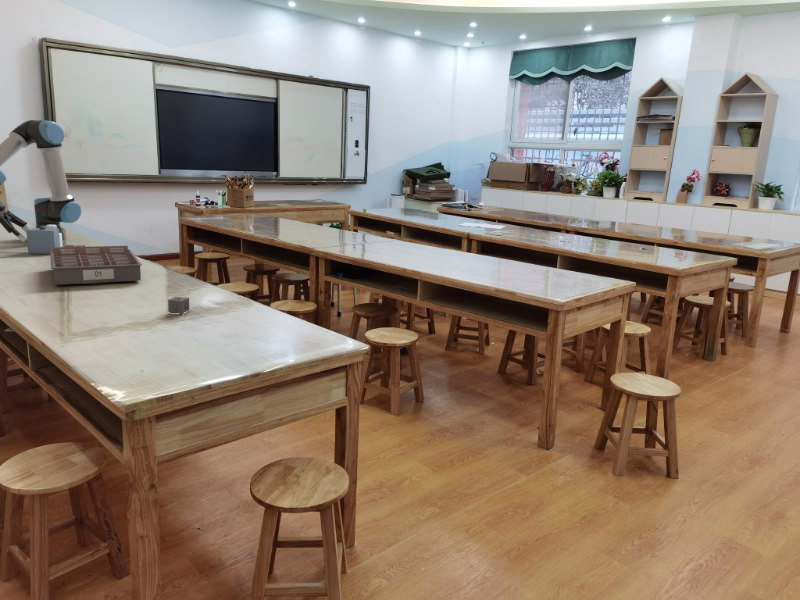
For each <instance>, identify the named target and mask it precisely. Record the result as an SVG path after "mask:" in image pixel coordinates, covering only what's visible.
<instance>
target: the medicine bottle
mask: <svg viewBox="0 0 800 600" xmlns="http://www.w3.org/2000/svg"><path fill="white" fill-rule="evenodd" d="M45 228H49V229H59V226H58V225H56V224H48V225H46V226H45ZM59 238H60V247H64V245H63V243H64V242H63V239H62V233H59Z"/></svg>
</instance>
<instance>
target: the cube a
mask: <svg viewBox="0 0 800 600" xmlns="http://www.w3.org/2000/svg"><path fill="white" fill-rule="evenodd" d="M75 246H76V245H75V244H65V245H63V247H75Z"/></svg>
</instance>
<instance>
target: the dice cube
mask: <svg viewBox="0 0 800 600" xmlns="http://www.w3.org/2000/svg"><path fill="white" fill-rule="evenodd" d="M167 308H168V310H167V311H168V312H170V313H180V314H183V313H184V312H186V311H188V310H190V297H186V296H183V297H182V296H174V297H171V298H169V299H167ZM168 312H167V313H168Z"/></svg>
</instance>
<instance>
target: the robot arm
mask: <svg viewBox="0 0 800 600" xmlns="http://www.w3.org/2000/svg"><path fill="white" fill-rule="evenodd" d="M8 135H9V136H8V137H7V138H6V139H4V140H3V141H2V142H0V168H1V167H2V166H3V165H4V164H5V163H7V162H8V161H9V160H10V159H11V158H12V157H13V156H15V154H17V153H18V152H19V151H20V150H21V149H22V148H23V149H25V148H27V147H28V146H30V145H32V144H36V148H37V149H38V150H39V151H40V152H41V156H42V161H43V163H44V169H45V172H46V176H47V179H48V180H47V181H48V185H49V188H50V193H51V197H38V198H35V199H34V201H33V203H34V204H33V206H34V215H35V218H34V219H35V228H40V226H46V225H48V224H56V225H58V226H59V233H62V240H65V233H64V231H63V229H62V226H61V223H65V224H72V223H75V222H77V221H78V220H79V219H80V218H81V215H82V207H81V205H80V204H79V203H77V202H75V197H74V196H73V195H72V194H70V189H69V186H68V181H67V176H66V173H65V168H64V167H65V166H64V163H63V158H62V155H61V151H60V150H61V148H62V147H63V145H62V143H63V142H64V139H65V132H64V129H63V127H62V126H61V125H60V124H59V123H57V122H56V121H51V120H48V119H47V120H42V119H40V120H39V119H38V120H37V119H30V120H26V121H24V122H22V123H20V124H19V125H18V126H16V127H15V128H14V129H13V130H11V131H10V132H9V133H8ZM6 180H7V175H6V174H5V173H4V172H3V170H1V169H0V186H1V185H3V183H5V182H6ZM5 209H6V205H4V204H3V202H1V201H0V224H1V226H2V227H3V228H4V230H6V232H7V233H9V234H13V235H14V236H15V237H17V238H18V239H19V240H20V241H21V242H22V243H24V242H26V241H27V235H25V234H24V233H22V232H21V231H20V230H19V229H18V228H15V227H14V225H16V226H18V227H20V228H21V229H22V231H24V232H25V233H26V230H28V229H31V227H29V225H28V223H27V222H26V221H25V220H23V219H21V218H20V217H19V216H17V215H15V214H14V213H12V212H11V211H10V210H5ZM13 224H14V225H13Z"/></svg>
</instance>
